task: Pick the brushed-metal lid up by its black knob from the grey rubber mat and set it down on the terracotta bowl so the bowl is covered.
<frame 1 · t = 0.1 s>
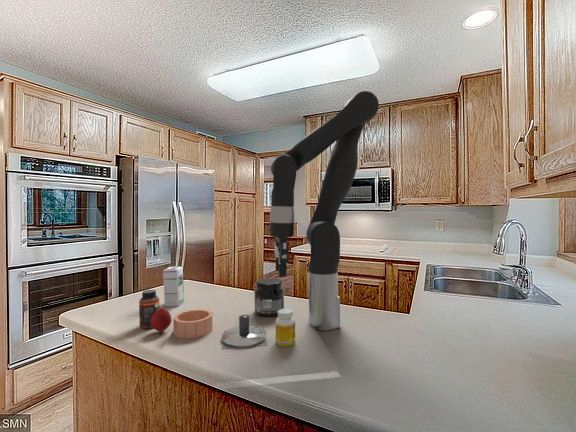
hand: (280, 273, 94), 17 cm above the countertop, tool pointing down, fingers open, 8 cm apart
mat: (244, 341, 86), on the countertop
lid: (244, 337, 86), point 1 cm above the countertop, touching mat
onion: (161, 332, 93), on the countertop
supplement container: (269, 315, 107), on the countertop
supplement bottle 2: (285, 346, 83), on the countertop
bowl: (193, 333, 92), on the countertop
syrup box: (174, 304, 120), on the countertop
supplement bottle: (149, 326, 98), on the countertop
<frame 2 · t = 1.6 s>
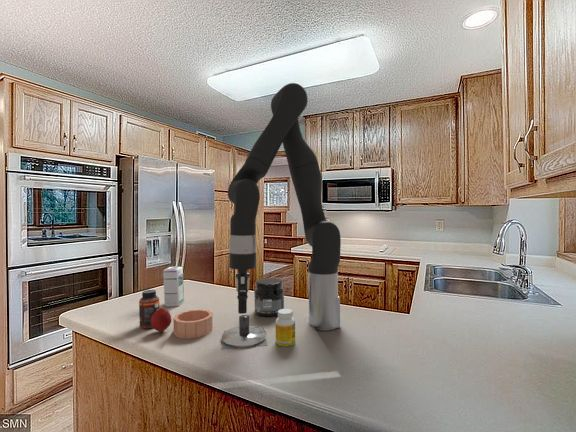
hand: (242, 308, 86), 9 cm above the countertop, tool pointing down, fingers open, 8 cm apart
nothing on the countertop moved.
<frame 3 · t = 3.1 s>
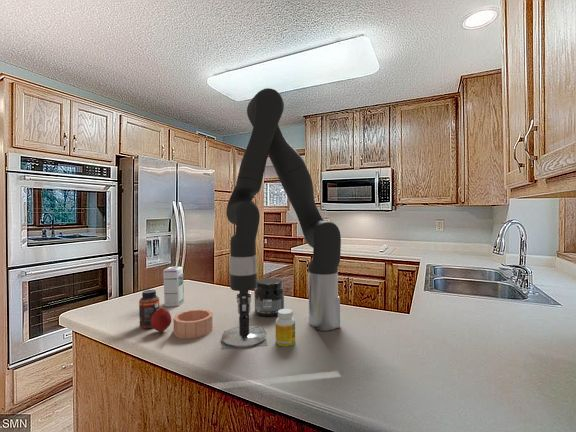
hand: (244, 331, 86), 3 cm above the countertop, tool pointing down, fingers closed on lid, 2 cm apart
lid: (244, 337, 86), point 1 cm above the countertop, touching gripper, mat
everything else where it was.
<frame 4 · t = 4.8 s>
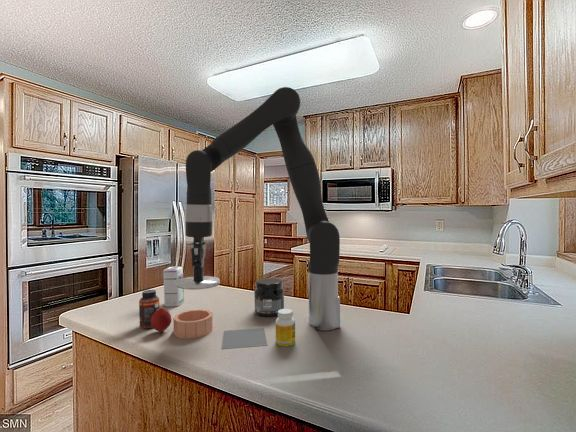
hand: (198, 278, 90), 17 cm above the countertop, tool pointing down, fingers closed on lid, 2 cm apart
lid: (198, 283, 90), point 15 cm above the countertop, touching gripper
everything else where it was.
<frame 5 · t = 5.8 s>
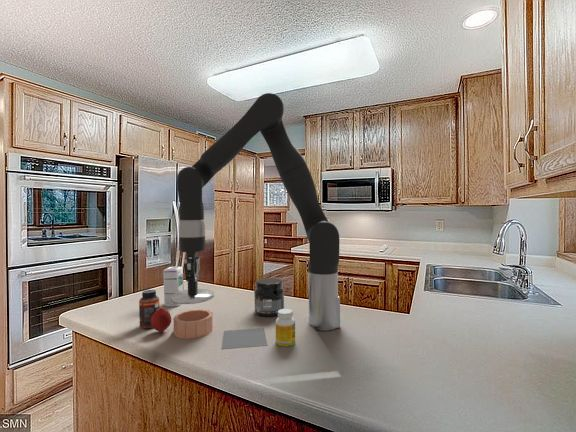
hand: (193, 292, 91), 13 cm above the countertop, tool pointing down, fingers closed on lid, 2 cm apart
lid: (192, 297, 91), point 11 cm above the countertop, touching gripper
everything else where it was.
when the fingers open (8 cm above the countertop, at t = 6.8 s): lid stays where it is, resting on bowl.
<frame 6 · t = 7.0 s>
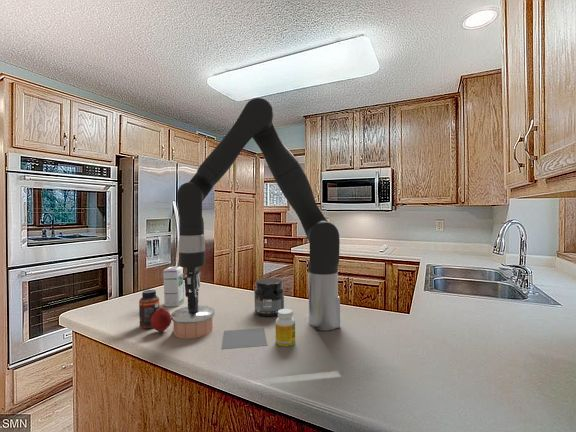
hand: (193, 306, 91), 8 cm above the countertop, tool pointing down, fingers open, 4 cm apart
lid: (193, 315, 92), point 5 cm above the countertop, touching bowl
everything else where it was.
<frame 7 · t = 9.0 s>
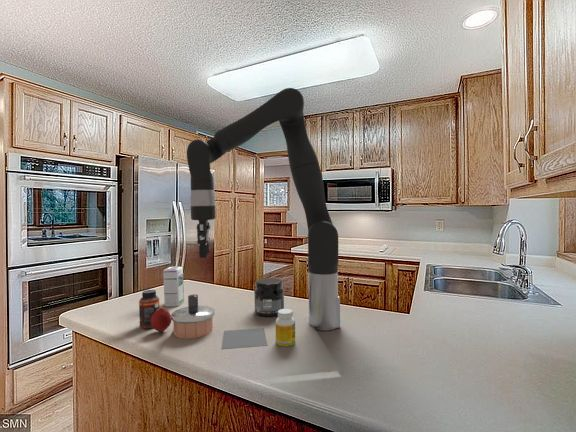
hand: (204, 255, 97), 23 cm above the countertop, tool pointing down, fingers open, 8 cm apart
nothing on the countertop moved.
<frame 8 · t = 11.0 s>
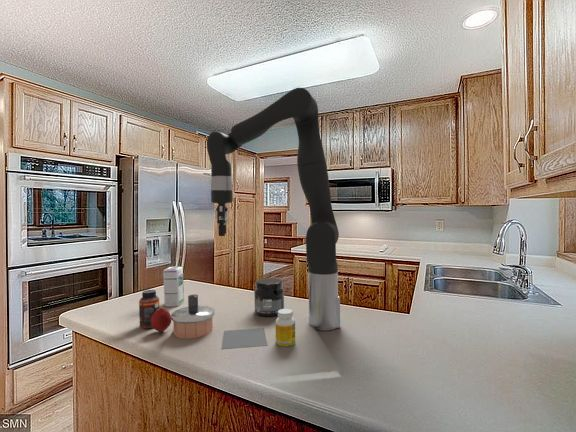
hand: (222, 235, 109), 28 cm above the countertop, tool pointing down, fingers open, 8 cm apart
nothing on the countertop moved.
at the end: lid 0.1 cm from the bowl (horizontally); lid 0.1 cm off-centre on the bowl, point 5.5 cm above the bowl's base; the gripper is holding nothing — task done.
